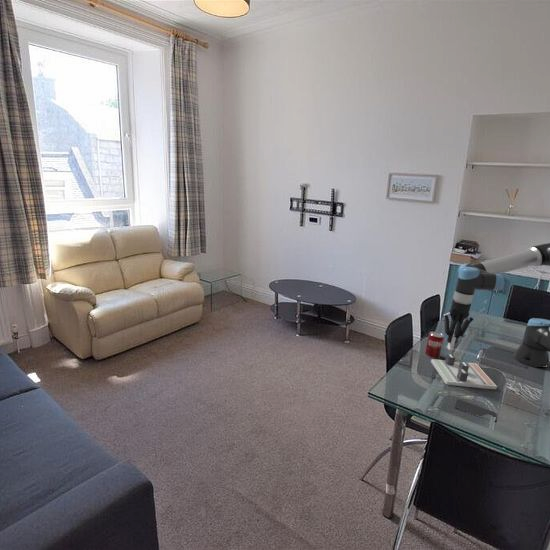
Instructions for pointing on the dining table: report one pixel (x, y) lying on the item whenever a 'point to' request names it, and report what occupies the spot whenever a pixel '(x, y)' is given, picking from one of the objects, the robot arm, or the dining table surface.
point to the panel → (473, 380)
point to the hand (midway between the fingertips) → (449, 348)
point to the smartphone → (472, 408)
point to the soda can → (434, 344)
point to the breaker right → (462, 375)
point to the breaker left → (450, 359)
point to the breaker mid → (463, 366)
